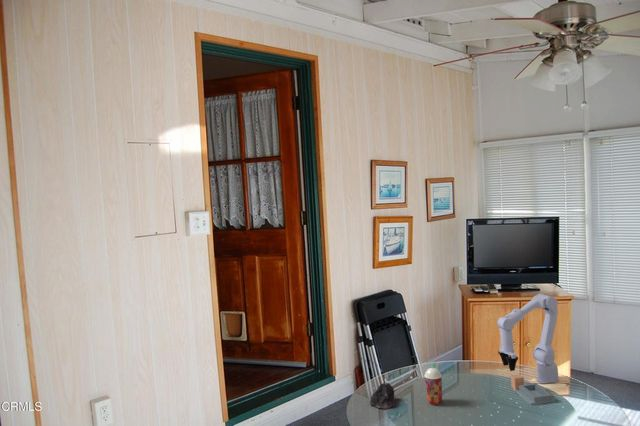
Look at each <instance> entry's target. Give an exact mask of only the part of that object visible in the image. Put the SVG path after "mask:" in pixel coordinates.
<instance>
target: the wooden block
mask: <svg viewBox="0 0 640 426" xmlns="http://www.w3.org/2000/svg"><path fill="white" fill-rule="evenodd" d="M510 384H511V385H510V386H511V388H512V389H514V391H517V390H519V385H525V381H524V376H522V375H521V374H520V373H519V374H518V373H517V374H512V375H510Z"/></svg>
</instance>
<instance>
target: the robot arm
mask: <svg viewBox="0 0 640 426" xmlns="http://www.w3.org/2000/svg"><path fill="white" fill-rule="evenodd" d="M558 304H559V302H558V299H556V298H555V297H554V296H552V295H547V294H543V293H541V292H540V293H537V294H536V295H534V296H532V299H531V300H530V301H528V302H527V303H526V304H524V306H522V307H521V308H520V309H519V308H515V309H514V308H513V309H512V311H511V312H510V313H508V314H506V315H505V316H501V317H499V318H498V320H497V322H496V325H497V327H498V328H499V335H500V345H499V350H498V351H497V353H498V354H499V356H500V358H501V361H502V365H503V366H505V367H507V366H508V368H509V371H510V372H513V371H514V372H515V371H516V365H517V361H518V360H519V357H518V356H517V355H516V353H515V352H516V351H515V349H514V339H513V330H514V327H515V325H516V324H517V323H519V322H521V321H522V320H523V319H525V315H527V314H528V313H531V312H532V311H533V310H535V309H542V310H543V312H544V313H545V315H544V320H543V325H542V331H541V335H540V340H539V343H538V344H536V345H535V348H534V350H533V352H532V357H533V359H535V362H536V375H537V376H534V379H535V380H536V381H538V382H539V383H540V384H541V385H542V384H549V383H550V384H551V383H558V382H560V379H559V370H558V369H559V368H558V365H557V363H556V362H555V359H556V358H555V350H554V348H553V347H552V344H553V341H554V335H555V329H556V325H557V319H558V314H559V311H558Z"/></svg>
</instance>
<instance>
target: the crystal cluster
mask: <svg viewBox="0 0 640 426" xmlns="http://www.w3.org/2000/svg"><path fill="white" fill-rule="evenodd" d="M395 398H396V397H395V390H394V387H393V386H392V385H391V384H390V383H388V382H386V383H384V382H383V383H381V384H380V385H378V387H377V389H376V390H375V391H374V393H373V394H372V395H371V397H370V399H369V405H371V406H373V407H375V408H378V409H384V410H385V409H386V410H387V409H390V408H391V407H393V406H394V405H395V404H396V400H395Z"/></svg>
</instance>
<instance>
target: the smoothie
mask: <svg viewBox="0 0 640 426" xmlns="http://www.w3.org/2000/svg"><path fill="white" fill-rule="evenodd" d="M430 364H431V365H430V366H431V367H430V368H427V370H426V371H425V373H424V375H423V377H424V382H425V389H426V396H427V401H428V403H429V404H430V405H432V406H438V405H441V404H442V401H443V377H442V376H443V374H442V373H441V372H440V370H439V369H438V368H436V367H434V364H433V362H431V363H430Z"/></svg>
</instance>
